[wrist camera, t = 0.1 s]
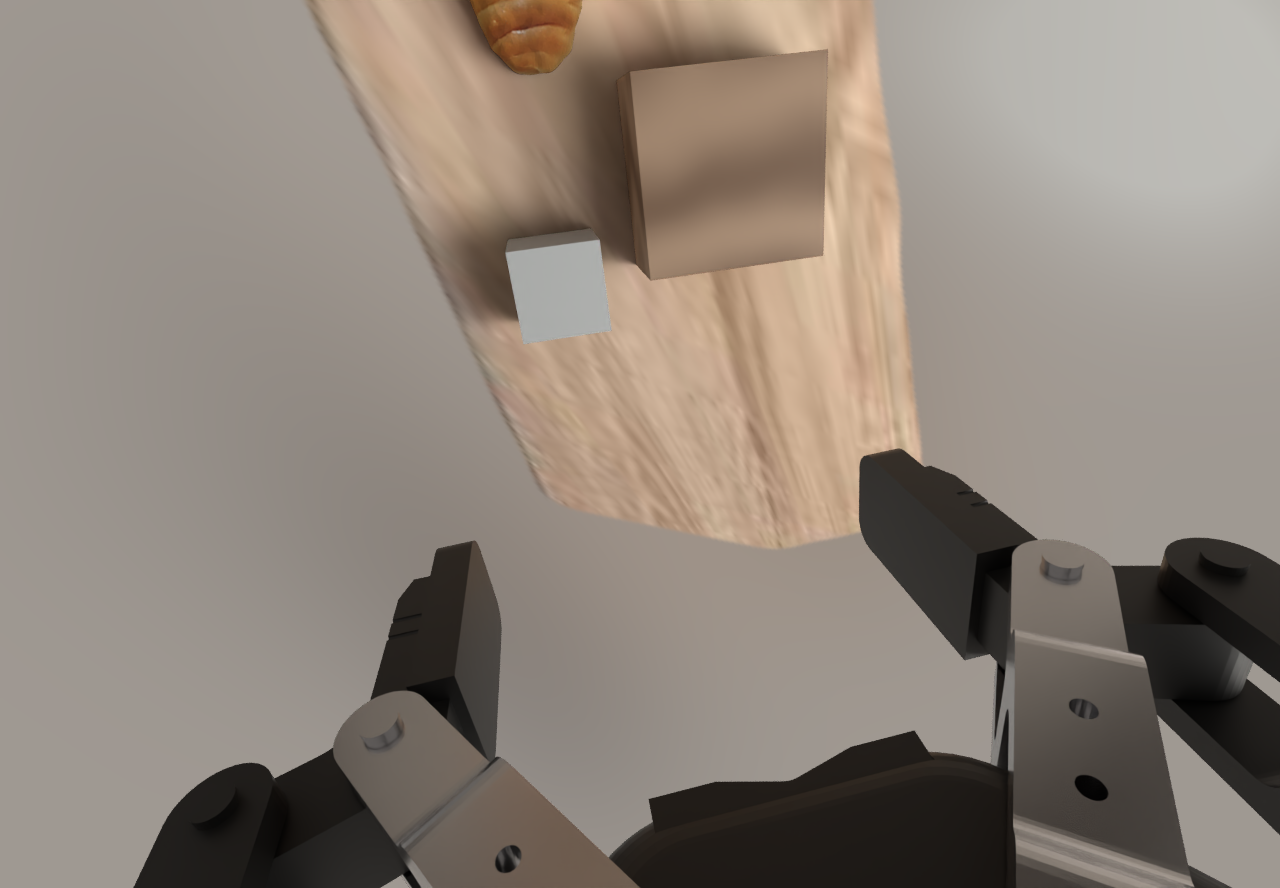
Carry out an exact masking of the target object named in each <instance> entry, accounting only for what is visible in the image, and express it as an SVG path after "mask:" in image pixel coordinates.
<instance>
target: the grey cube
mask: <svg viewBox="0 0 1280 888" xmlns="http://www.w3.org/2000/svg"><path fill="white" fill-rule="evenodd" d="M505 253H506V258H507V263H508V268H509V274H510V279H511V284H512V289H513V294H514V299H515V304H516V309H517V314H518V319H519V324H520V329H521V334H522V339H523V344H528V343H534V342H541V341H547V340H554V339H560V338H567V337H573V336H580V335H587V334H593V333H600V332H606V331H612V330H611V323H610V315H609V308H608V300H607V292H606V285H605V277H604V270H603V262H602V255H601V247H600V240H599V238H598V237H597V236H596V234H595V233H594V232H593V230H592V229H591V228H590V229H582V230H575V231H567V232H560V233H553V234H545V235H538V236H531V237H523V238H516V239H508V241H507V246H506V252H505Z"/></svg>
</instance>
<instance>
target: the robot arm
mask: <svg viewBox="0 0 1280 888" xmlns="http://www.w3.org/2000/svg"><path fill="white" fill-rule="evenodd" d="M859 522H860V528H861V532H862V535H863V537H864V540H865V542H866V544H867V545H868V547H869V548H870V549H871V550H872V552H873V553H874V554H875V555H876V556H877V558H878V559H879V560H880V561H881V562H882V563H883V565H884V566H885V567H886V568H887V569H888V571H889V572H890V573H891V574H892V575H893V576H894V578H895V579H896V580H897V581H898V582H899V583H900V584H901V586H902V587H903V588H904V589H905V591H906V592H907V593H908V594H909V595H910V596H911V598H912V599H913V600H914V601H915V602H916V604H917V605H918V606H919V607H920V608H921V609H922V611H923V612H924V613H925V614H926V615H927V616H928V618H929V619H930V620H931V621H932V622H933V624H934V625H935V626H936V627H937V628H938V629H939V631H940V632H941V633H942V634H943V635H944V637H945V638H946V639H947V640H948V641H949V642H950V644H951V645H952V646H953V647H954V648H955V649H956V651H957V652H958V653H959V654H960V655H961V657H962V658H963V659H964V660H968V659H971V658H976V657H980V656H983V655H987V654H990V655H991V656H992V657H993V658H994V659H995V660H996V661H997V663H996V669H995V676H994V699H993V722H992V745H991V763H986V762H983V761H980V760H977V759H973V758H970V757H965V756H960V755H955V754H948V753H939V752H928V750H927V749H926V748H925V746H924V745H923V743H922V742H921V740H920V739H919V737H918V735H917V734H916V732H915V731H911V732H907V733H903V734H899V735H896V736H892V737H888V738H884V739H880V740H876V741H872V742H868V743H864V744H861V745H857V746H853V747H850V748H848V749H847V750H845V751H843V752H841V753H840V754H838V755H836V756H834V757H833V758H831V759H829V760H827V761H826V762H824V763H822V764H821V765H819V766H817V767H815V768H813V769H812V770H810V771H808V772H807V773H805V774H803V775H801V776H800V777H798V778H796V779H794V780H791V781H784V782H783V781H782V782H714V783H709V784H705V785H702V786H698V787H694V788H690V789H686V790H682V791H678V792H675V793H671V794H667V795H663V796H659V797H656V798H651V799H649V803H650V809H651V814H652V820H653V822H652V823H651V824H649V825H647V826H646V827H644V828H642V829H641V830H639V831H638V832H636V833H635V834H634V835H632V836H631V837H630V838H628V839H627V840H626V841H625V842H624V843H623V844H622V845H621V846H620V847H618V848H617V849H616V850H615V851H614V852H613V853H612V854H611V855H610V857H609V858H608V857H607V856H606V855H605V854H604V853H603V852H602V851H601V850H600V849H599V848H598V847H597V846H596V845H594V844H593V843H592V842H591V841H590V840H589V839H588V838H587V837H586V836H585V835H584V834H583V833H582V832H581V831H580V830H579V829H577V827H576V826H575V825H573V824H572V823H571V822H570V821H569V820H568V819H567V818H566V817H565V816H564V815H563V814H562V813H561V812H560V811H559V810H557V808H556V807H555V806H553V805H552V804H551V803H550V802H549V801H548V800H547V799H546V798H545V797H544V796H543V795H542V794H541V793H540V792H539V791H538V790H537V789H536V788H535V787H533V786H532V785H531V784H530V783H529V782H528V781H527V780H526V779H525V778H524V777H523V776H522V775H521V774H520V773H519V772H518V771H517V770H516V769H515V768H513V767H512V766H511V765H510V764H509V763H508V762H507V761H505V760H504V759H502V758H501V757H496V758H495V752H496V733H497V713H498V692H499V672H500V651H501V618H500V612H499V607H498V603H497V599H496V596H495V593H494V590H493V587H492V584H491V581H490V578H489V575H488V572H487V569H486V566H485V563H484V560H483V557H482V554H481V551H480V548H479V546H478V544H477V542H476V541H470V542H466V543H461V544H456V545H452V546H447V547H443V548H438V549H437V550H436V553H435V557H434V562H433V566H432V571H431V575H430V576H429V577H424V578H419V579H415V580H413V582H412V583H411V584H410V586H409V587H408V588H407V589H406V591H405V592H404V593H403V594H402V596H401V597H400V598H399V600H398V603H397V607H396V610H395V614H394V617H393V624H391V628H390V632H389V635H388V637H389V640H388V641H387V643H386V646H385V650H384V653H383V657H382V660H381V664H380V668H379V671H378V675H377V678H376V682H375V686H374V689H373V693H372V696H371V700H370V701H369V702H367V703H366V704H364V705H362V706H361V707H360V708H359V709H358V710H356V711H355V712H354V713H353V714H352V715H351V716H350V717H349V718H348V719H347V720H346V721H345V723H344V724H343V725H342V727H341V728H340V730H339V732H338V734H337V736H336V738H335V741H334V745H333V748H332V749H330V750H329V751H327V752H326V753H324V754H322V755H320V756H318V757H317V758H314V759H313V760H310V761H308V762H307V763H304V764H303V765H301V766H299V767H297V768H295V769H293V770H291V771H289V772H287V773H285V774H283V775H281V776H279V777H277V778H275V779H274V777H273V776H272V775H271V773H270V771H269V770H268V769H267V768H266V767H265V766H263V765H260V764H257V763H243V764H239V765H234V766H232V767H229V768H226V769H224V770H222V771H220V772H218V773H216V774H214V775H212V776H210V777H209V778H207V779H206V780H204V781H203V782H201V783H200V784H199V785H197V786H196V787H195V788H194V789H192V790H191V791H190V792H189V793H188V794H187V795H186V796H185V797H184V798H183V799H182V800H181V801H180V802H179V803H178V804H177V805H176V807H175V808H174V809H173V810H172V812H171V813H170V814H169V816H168V817H167V819H166V821H165V823H164V825H163V826H162V829H161V831H160V833H159V835H158V837H157V839H156V841H155V843H154V845H153V848H152V850H151V852H150V854H149V856H148V858H147V860H146V862H145V865H144V867H143V869H142V871H141V873H140V875H139V877H138V879H137V881H136V884H135V886H134V888H381V887H382V886H384V885H386V884H387V883H389V882H391V881H392V880H394V879H396V878H397V877H399V876H401V877H402V878H403V879H404V881H405V882H406V884H407V885H408V887H409V888H1231V887H1229V886H1227V885H1225V884H1224V883H1222V882H1220V881H1218V880H1216V879H1214V878H1212V877H1210V876H1208V875H1206V874H1204V873H1202V872H1201V871H1199V870H1197V869H1195V868H1193V867H1191V866H1189V865H1188V863H1187V858H1186V853H1185V848H1184V843H1183V839H1182V834H1181V829H1180V824H1179V819H1178V814H1177V809H1176V805H1175V800H1174V795H1173V791H1172V785H1171V780H1170V776H1169V771H1168V766H1167V761H1166V756H1165V752H1164V746H1163V742H1162V737H1161V732H1160V727H1159V722H1158V717H1157V715H1158V716H1159V717H1160V718H1161V719H1162V720H1163V721H1164V722H1165V723H1166V724H1167V725H1168V726H1169V727H1170V728H1171V729H1172V730H1174V731H1175V732H1176V733H1177V734H1178V735H1179V736H1180V737H1181V738H1182V739H1183V740H1184V741H1185V742H1186V743H1187V744H1188V745H1189V746H1190V747H1191V748H1192V749H1193V750H1194V751H1195V752H1196V753H1197V754H1198V755H1199V756H1200V757H1201V758H1202V759H1203V760H1204V761H1205V762H1206V763H1207V764H1208V765H1209V766H1210V767H1211V768H1212V769H1213V770H1214V771H1215V772H1216V773H1217V774H1218V775H1219V776H1220V777H1221V778H1222V779H1223V780H1224V781H1226V783H1227V784H1229V785H1230V787H1232V788H1233V789H1234V790H1235V791H1236V792H1237V793H1238V794H1239V795H1240V796H1241V797H1242V798H1243V799H1244V800H1245V801H1246V802H1247V803H1248V804H1249V805H1250V806H1251V807H1252V808H1253V809H1254V810H1255V811H1256V812H1257V813H1258V814H1259V815H1260V816H1261V817H1262V818H1263V819H1264V820H1265V821H1266V822H1267V823H1268V824H1269V825H1270V826H1271V827H1272V828H1273V829H1274V830H1275V831H1276V832H1277V833H1279V835H1280V705H1279V704H1278V703H1277V702H1275V701H1274V700H1273V699H1272V698H1270V697H1269V696H1268V695H1267V694H1265V693H1264V692H1263V691H1262V690H1260V689H1259V688H1258V687H1257V686H1255V685H1254V684H1253V683H1251V682H1250V681H1249V680H1248V679H1247V676H1248V674H1249V672H1250V669H1251V667H1252V664H1253V662H1254V663H1255V664H1257V665H1258V666H1260V668H1262V669H1263V670H1264V671H1266V672H1267V673H1268V674H1270V675H1271V676H1272V677H1273V678H1275V679H1276V680H1277V681H1279V682H1280V565H1279V564H1277V563H1276V562H1274V561H1272V560H1271V559H1269V558H1267V557H1266V556H1264V555H1262V554H1260V553H1258V552H1256V551H1254V550H1252V549H1249V548H1247V547H1244V546H1241V545H1238V544H1235V543H1231V542H1227V541H1223V540H1217V539H1210V538H1187V539H1181V540H1177V541H1175V542H1173V543H1171V544H1170V545H1168V546H1167V548H1166V550H1165V553H1164V557H1163V560H1162V563H1161V566H1111V565H1110V564H1109V563H1108V562H1107V561H1106V560H1105V559H1104V558H1103V557H1101V556H1100V555H1099V554H1097V553H1095V552H1094V551H1092V550H1090V549H1088V548H1085V547H1083V546H1080V545H1077V544H1074V543H1070V542H1066V541H1060V540H1047V539H1045V540H1044V539H1043V540H1038V539H1036V538H1035V537H1034V536H1033V535H1031V534H1030V533H1029V532H1027V531H1026V530H1025V529H1024V528H1022V527H1021V526H1020V525H1018V524H1017V523H1016V522H1014V521H1013V520H1012V519H1011V518H1009V517H1008V516H1007V515H1005V514H1004V513H1003V512H1001V511H1000V510H999V509H998V508H996V507H995V506H994V505H993V504H988V502H987V500H986V499H985V498H984V497H982V496H981V495H980V494H978V493H977V492H973V489H972V488H970V487H969V486H968V485H967V484H965V483H964V482H963V481H962V480H960V479H959V478H958V477H956V476H955V475H952V474H950V473H947V472H945V471H942V470H940V469H937V468H935V467H932V466H927V467H924V466H922V465H921V464H920V463H919V462H917V461H916V460H915V459H914V458H913V457H911V456H910V455H909V454H908V453H906V452H905V451H904V450H902V449H894V450H889V451H885V452H880V453H876V454H871V455H866V456H864V457H863V458H862V459H861V462H860V478H859Z"/></svg>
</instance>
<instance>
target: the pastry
mask: <svg viewBox="0 0 1280 888" xmlns="http://www.w3.org/2000/svg"><path fill="white" fill-rule="evenodd" d="M470 2H471V5H472V7H473V10H474V12H475V14H476V16H477V18H478V22H479V25H480V27H481V28H482V30H483V32H484V35H485V37H486V39H487V40H488V42H489V45H490V47H491V49H492V50H493V51H494V52H495V53H496V54H497V55H499V56H500V57H501V59H502V60H503V61H504V62H505V63H506V64H507V65H508V66H509V67H510V68H511V69H512V70H513V71H514V72H516V73H518V74H525V75H535V74H540V73H549V72H552V71H553V70H555V69H556V68H557V67H558V66H559V64H560V63H561V62H562V61H563V59H564V58H565V57H566V56H567V55H568V54H569V53H570V52H571V50H572V45H573V39H574V33H575V26H576V24H577V21H578V18H579V14H580V12H581V9H582V0H470Z"/></svg>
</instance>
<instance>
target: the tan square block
mask: <svg viewBox="0 0 1280 888" xmlns="http://www.w3.org/2000/svg"><path fill="white" fill-rule="evenodd" d="M827 71H828V49H827V50H818V51H809V52H800V53H791V54H782V55H773V56H764V57H755V58H746V59H737V60H728V61H719V62H710V63H701V64H692V65H683V66H674V67H665V68H656V69H647V70H638V71H630V72H628V73H627V74H625V75H624V76H622V77H621V78H620V79H618V80H617V90H618V99H619V108H620V118H621V127H622V136H623V145H624V155H625V164H626V173H627V182H628V192H629V201H630V210H631V219H632V229H633V238H634V247H635V256H636V265H637V266H638V267H639V268H640V269H641V270H642V272H643V273H644V274H645V275H646V276H647V277H648V278H649V279H650V280H658V279H665V278H672V277H679V276H686V275H693V274H699V273H706V272H713V271H720V270H727V269H734V268H741V267H748V266H754V265H761V264H768V263H775V262H782V261H789V260H796V259H803V258H809V257H816V256H823V243H824V200H825V157H826V114H827Z"/></svg>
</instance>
